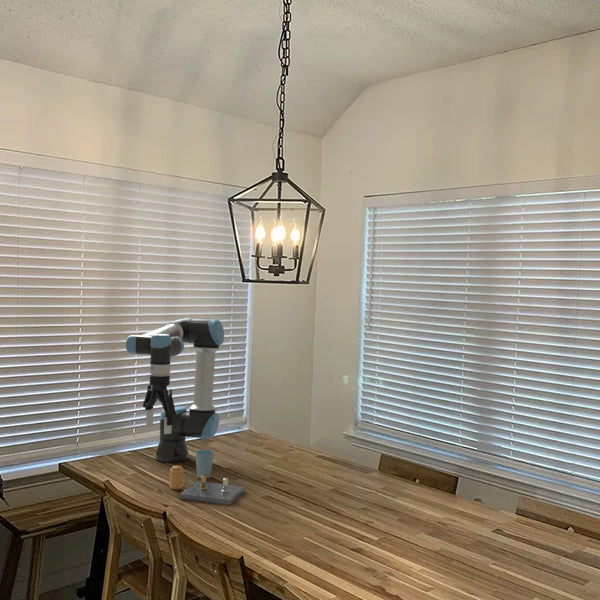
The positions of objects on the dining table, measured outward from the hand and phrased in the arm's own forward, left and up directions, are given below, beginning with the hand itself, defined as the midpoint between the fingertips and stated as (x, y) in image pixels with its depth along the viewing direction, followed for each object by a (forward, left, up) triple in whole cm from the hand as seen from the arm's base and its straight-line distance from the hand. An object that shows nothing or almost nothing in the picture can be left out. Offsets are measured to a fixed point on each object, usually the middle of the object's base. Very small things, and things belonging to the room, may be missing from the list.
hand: (158, 430), depth 240 cm
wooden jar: (-9, +4, -24) cm, 26 cm away
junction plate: (-5, +21, -24) cm, 33 cm away
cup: (-25, +9, -25) cm, 36 cm away
